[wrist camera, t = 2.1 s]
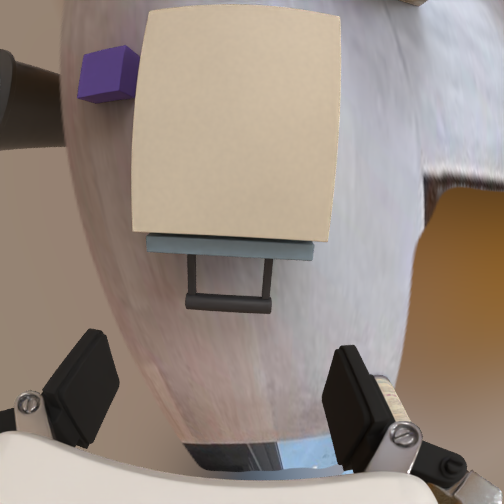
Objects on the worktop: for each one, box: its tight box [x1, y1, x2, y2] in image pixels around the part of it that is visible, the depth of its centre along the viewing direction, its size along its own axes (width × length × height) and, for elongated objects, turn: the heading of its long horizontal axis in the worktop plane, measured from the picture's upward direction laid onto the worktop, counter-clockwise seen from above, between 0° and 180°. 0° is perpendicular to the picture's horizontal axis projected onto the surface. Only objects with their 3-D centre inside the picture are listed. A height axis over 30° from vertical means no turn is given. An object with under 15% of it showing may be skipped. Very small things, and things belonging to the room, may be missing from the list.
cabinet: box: [131, 4, 341, 242], centre depth 19 cm, size 16×13×8 cm
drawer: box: [146, 233, 314, 314], centre depth 20 cm, size 20×12×6 cm, turn 177°
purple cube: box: [77, 45, 140, 103], centre depth 19 cm, size 4×4×4 cm
